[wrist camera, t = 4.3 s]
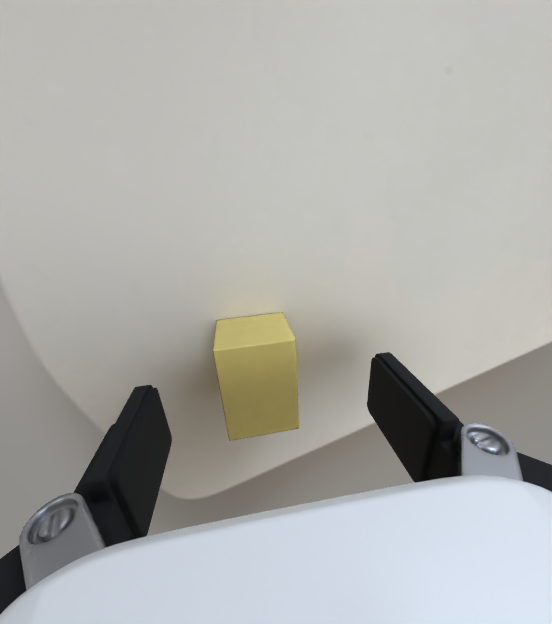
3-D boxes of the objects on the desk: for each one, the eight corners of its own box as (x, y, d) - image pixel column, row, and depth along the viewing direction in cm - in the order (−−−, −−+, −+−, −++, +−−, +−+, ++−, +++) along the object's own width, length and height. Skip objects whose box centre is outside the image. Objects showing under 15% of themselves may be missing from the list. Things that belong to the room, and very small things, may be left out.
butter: (287, 388, 15) (299, 428, 13) (229, 398, 15) (229, 441, 12) (282, 311, 13) (296, 339, 11) (216, 319, 13) (212, 350, 10)
